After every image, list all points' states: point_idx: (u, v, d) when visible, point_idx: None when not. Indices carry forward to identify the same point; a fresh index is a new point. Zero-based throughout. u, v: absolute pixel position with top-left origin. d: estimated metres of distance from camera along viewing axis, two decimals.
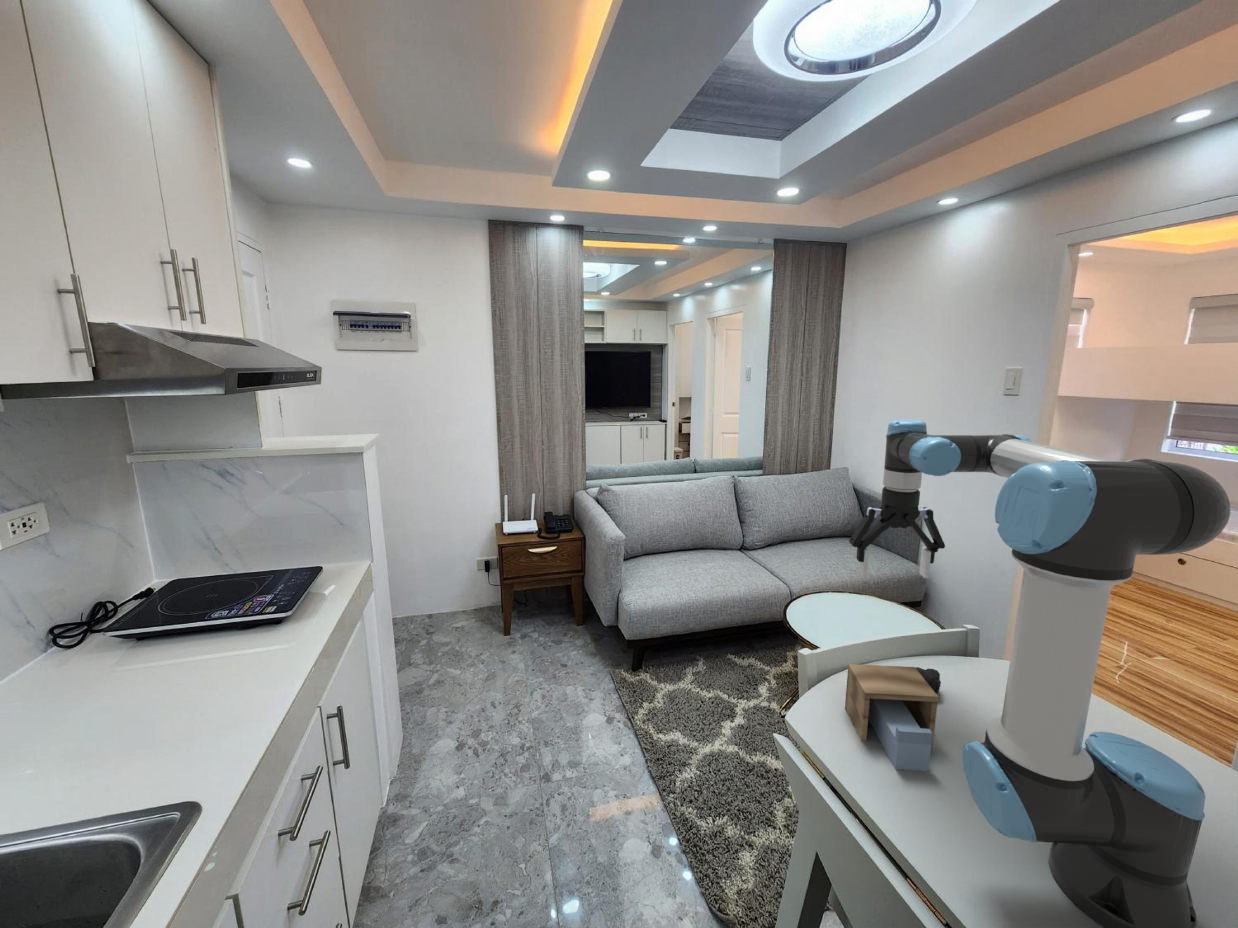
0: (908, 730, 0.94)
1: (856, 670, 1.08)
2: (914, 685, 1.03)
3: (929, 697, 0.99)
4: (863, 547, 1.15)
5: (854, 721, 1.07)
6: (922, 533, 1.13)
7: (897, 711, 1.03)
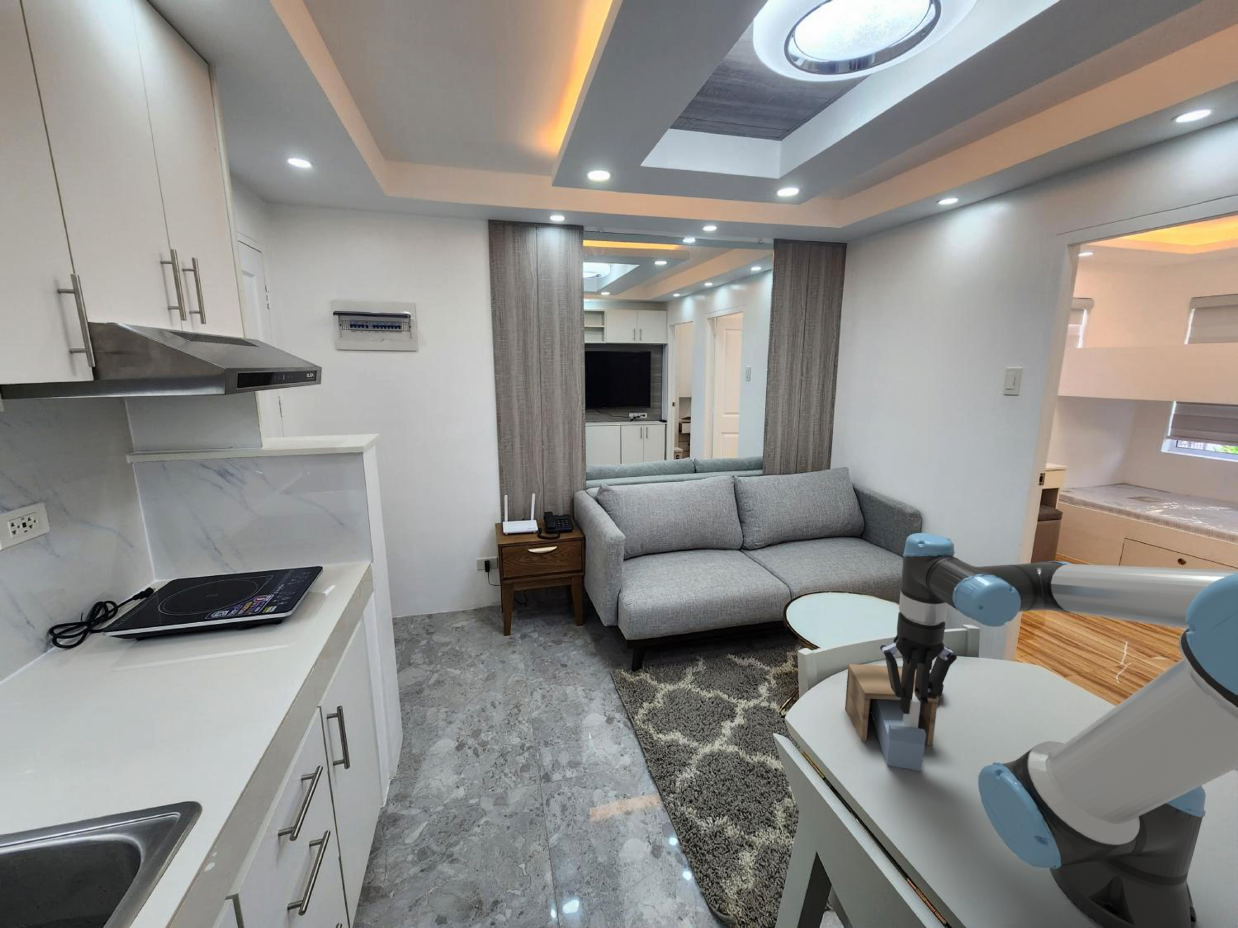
0: (900, 729, 0.94)
1: (856, 670, 1.08)
2: (914, 685, 1.03)
3: None
4: (909, 698, 0.94)
5: (854, 721, 1.07)
6: (927, 677, 0.93)
7: (897, 709, 1.03)
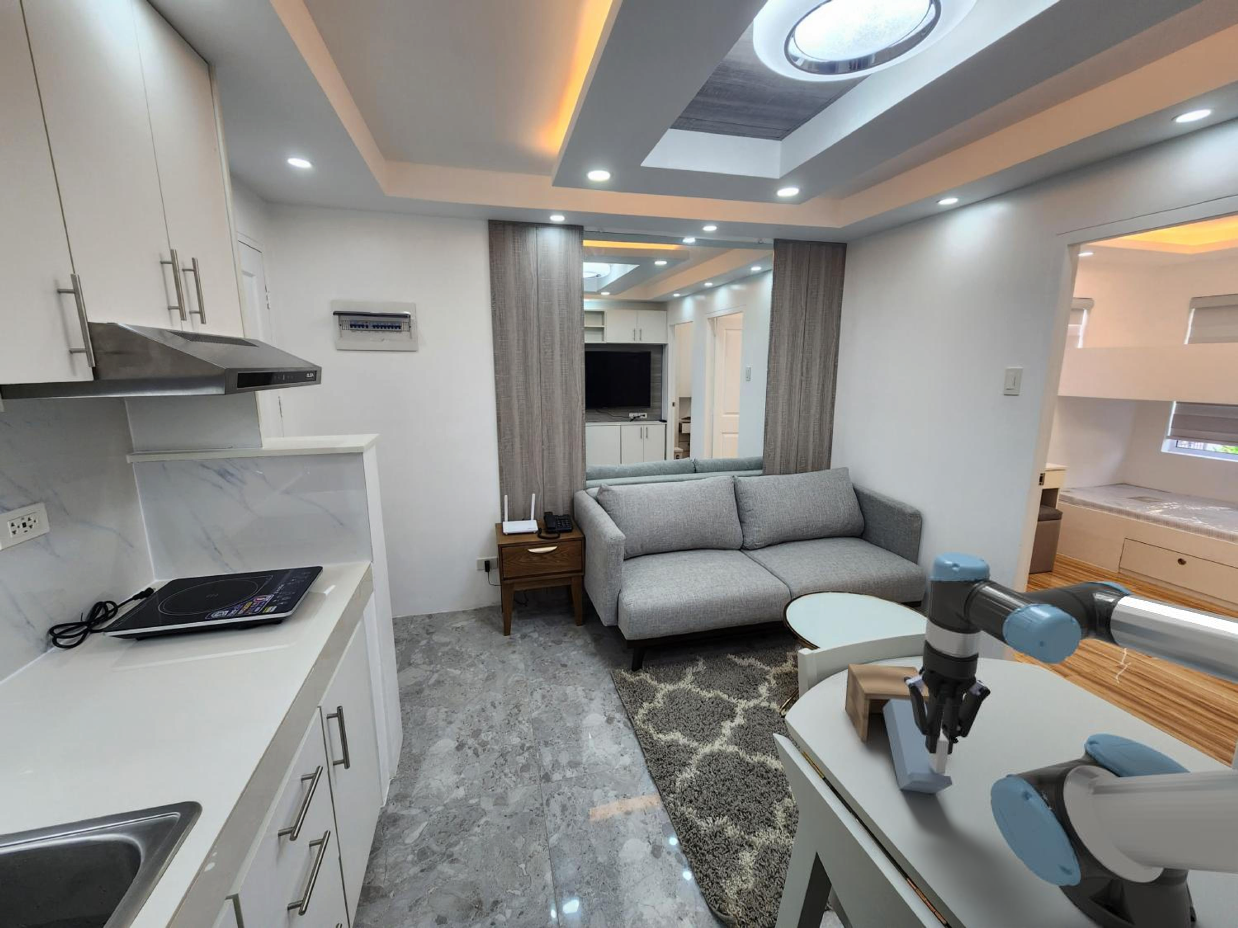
0: (924, 779, 0.85)
1: (856, 670, 1.08)
2: None
3: None
4: (936, 736, 0.84)
5: (854, 721, 1.07)
6: (956, 713, 0.83)
7: (917, 728, 0.92)
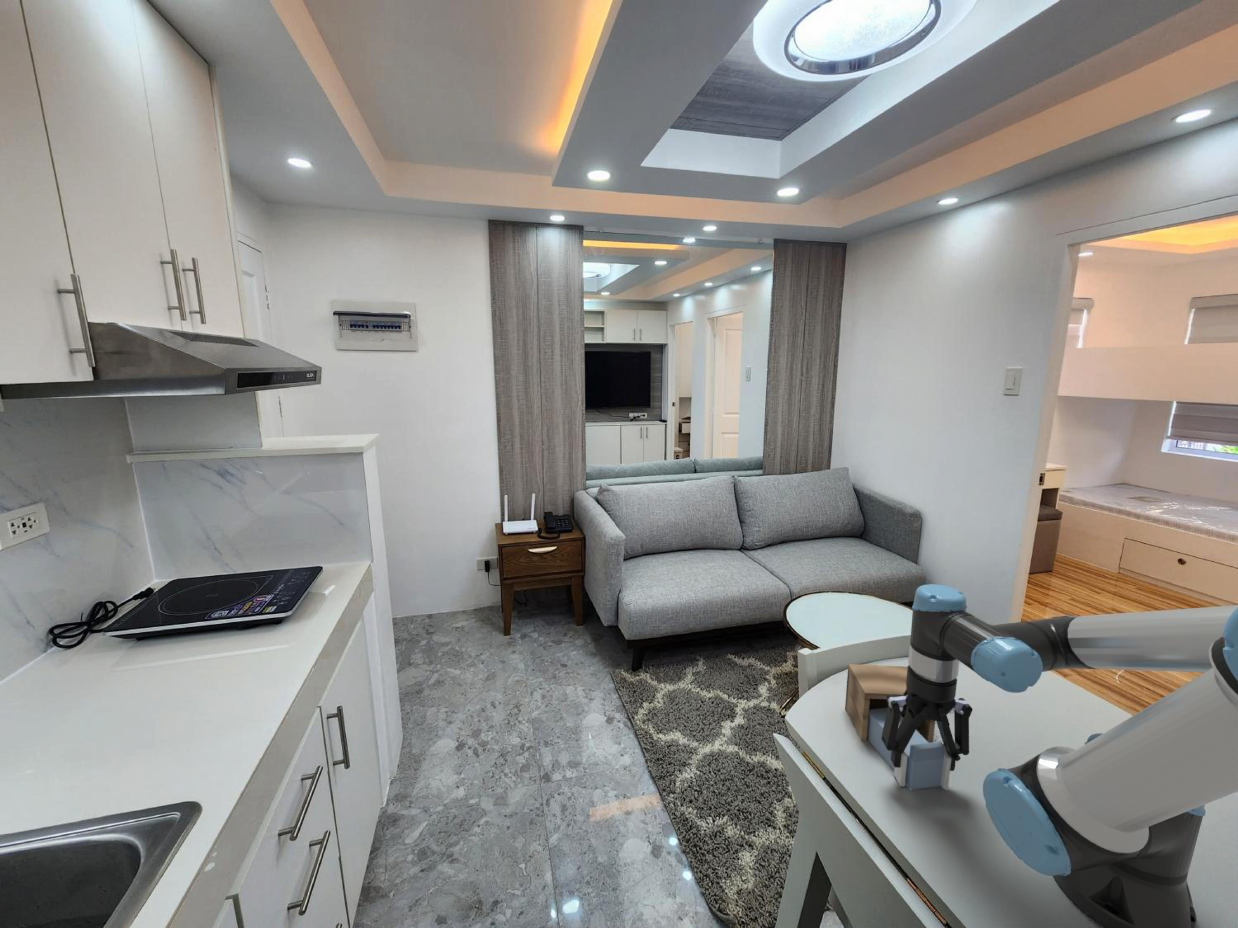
0: (923, 747, 0.89)
1: (856, 670, 1.08)
2: None
3: None
4: (900, 751, 0.90)
5: (854, 721, 1.07)
6: (949, 733, 0.88)
7: None
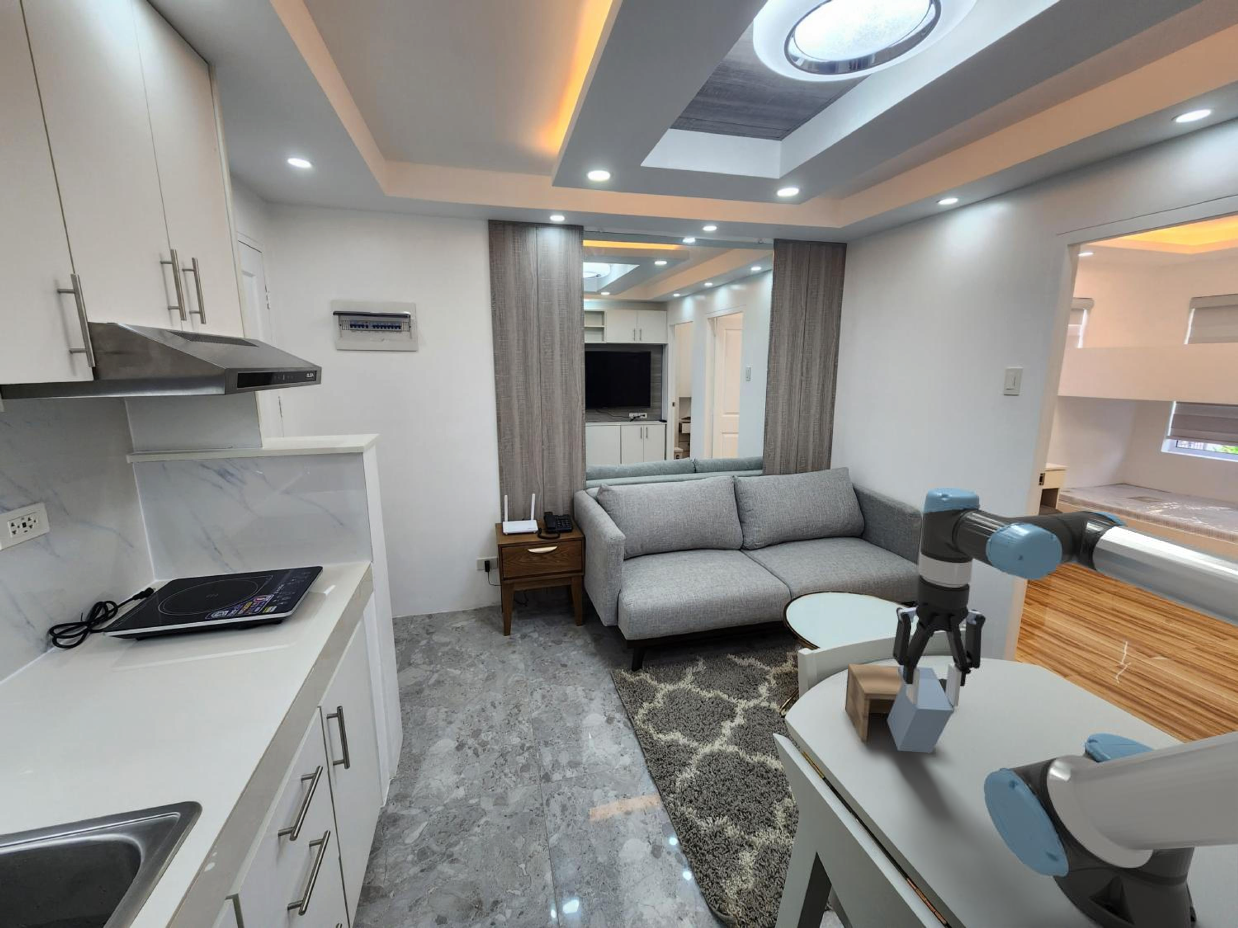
0: None
1: (856, 670, 1.08)
2: None
3: None
4: (913, 666, 0.86)
5: (854, 721, 1.07)
6: (960, 644, 0.85)
7: None
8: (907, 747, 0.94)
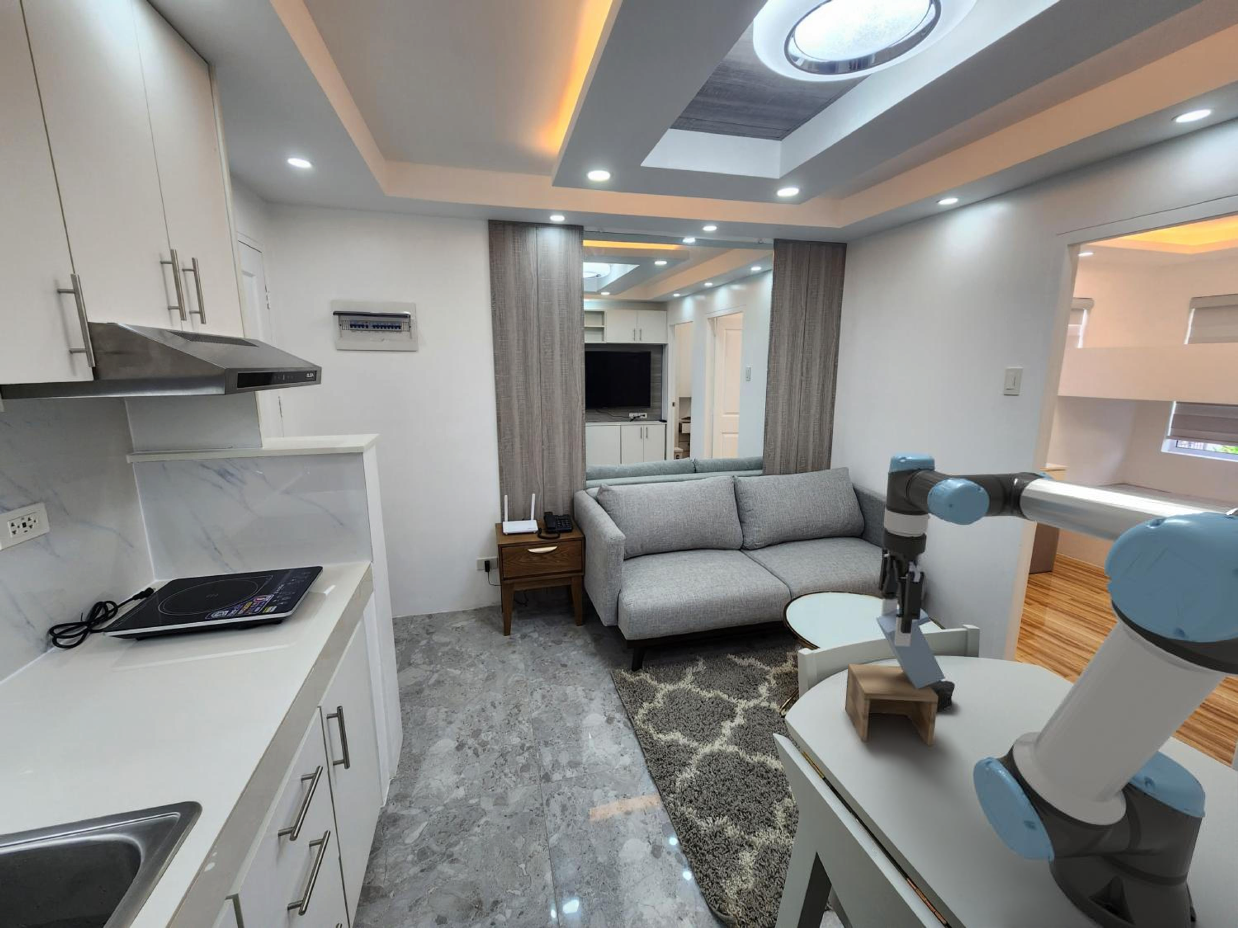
0: None
1: (856, 670, 1.08)
2: None
3: (929, 697, 0.99)
4: (882, 594, 1.06)
5: (854, 721, 1.07)
6: (900, 591, 0.98)
7: None
8: (903, 670, 1.06)
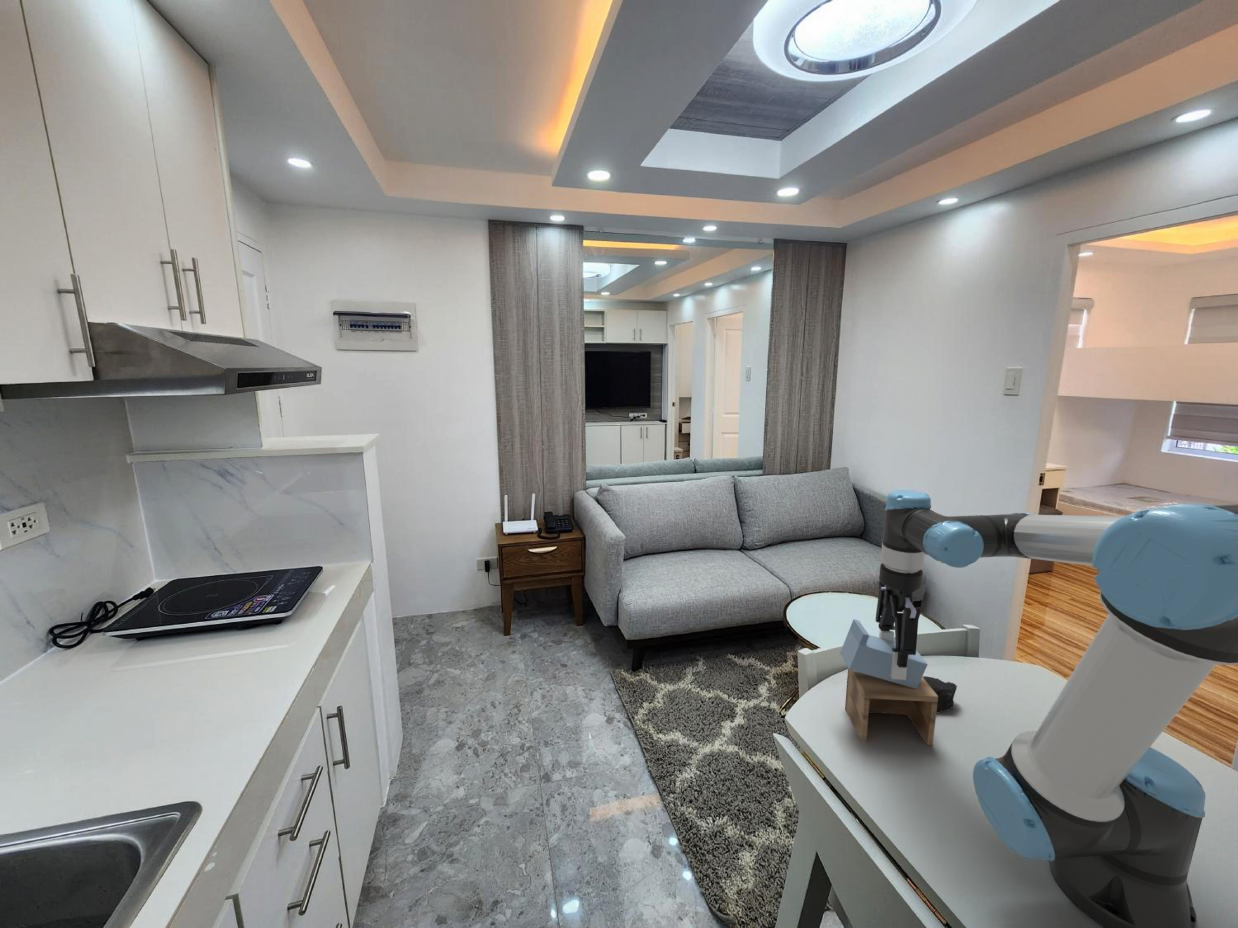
0: (857, 623, 1.05)
1: None
2: None
3: (929, 697, 0.99)
4: (879, 626, 1.07)
5: (854, 721, 1.07)
6: (896, 625, 0.99)
7: None
8: None
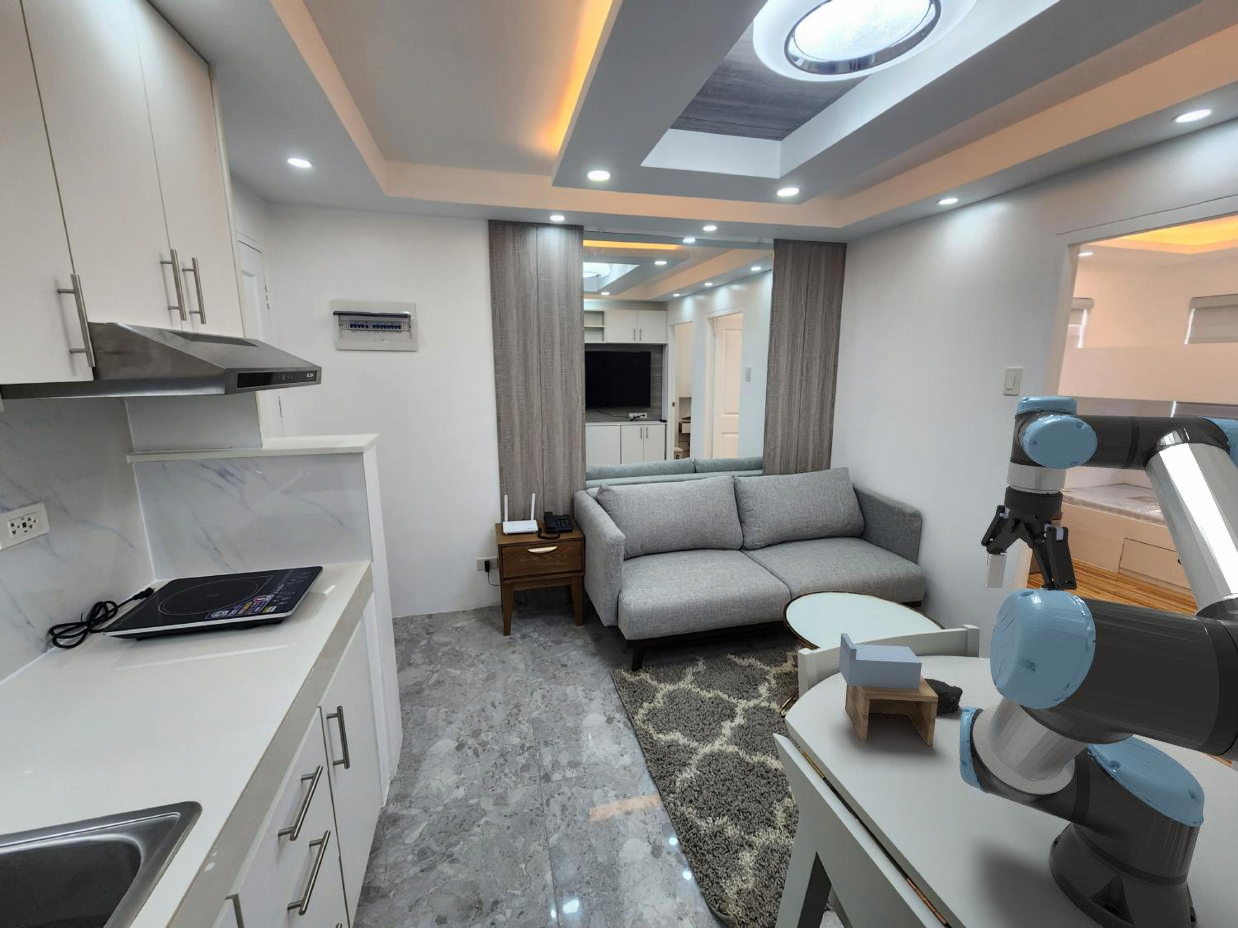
0: (845, 637, 1.05)
1: None
2: None
3: (929, 697, 0.99)
4: (987, 549, 0.94)
5: (854, 721, 1.07)
6: (1038, 556, 0.81)
7: (891, 654, 1.03)
8: None
